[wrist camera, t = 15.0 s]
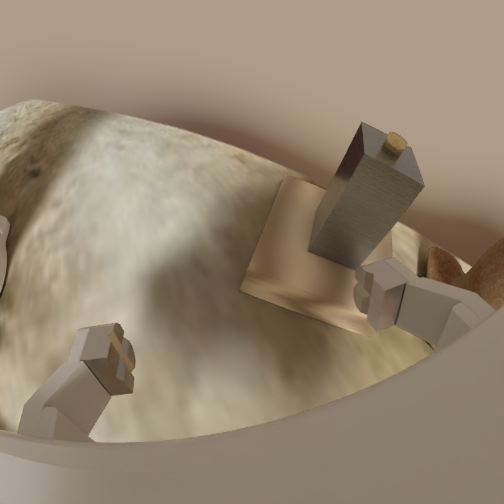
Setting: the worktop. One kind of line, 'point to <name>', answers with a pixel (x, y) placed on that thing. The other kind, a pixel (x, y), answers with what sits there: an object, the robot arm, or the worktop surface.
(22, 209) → the worktop surface
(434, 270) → the brown piece
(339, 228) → the block
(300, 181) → the maple stand
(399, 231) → the worktop surface
